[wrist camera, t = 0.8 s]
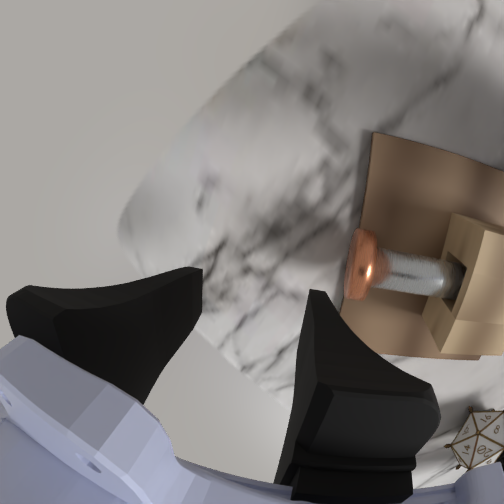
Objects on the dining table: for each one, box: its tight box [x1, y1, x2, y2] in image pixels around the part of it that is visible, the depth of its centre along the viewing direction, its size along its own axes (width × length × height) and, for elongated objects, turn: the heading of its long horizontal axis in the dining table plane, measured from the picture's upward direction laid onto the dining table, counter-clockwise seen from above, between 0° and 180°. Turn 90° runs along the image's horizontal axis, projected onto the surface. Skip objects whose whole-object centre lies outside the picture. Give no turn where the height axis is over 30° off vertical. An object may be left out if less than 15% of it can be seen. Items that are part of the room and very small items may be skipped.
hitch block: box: [339, 132, 504, 360], centre depth 15 cm, size 15×16×5 cm
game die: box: [444, 406, 504, 472], centre depth 17 cm, size 9×8×10 cm
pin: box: [344, 228, 467, 301], centre depth 15 cm, size 10×4×4 cm, turn 85°
